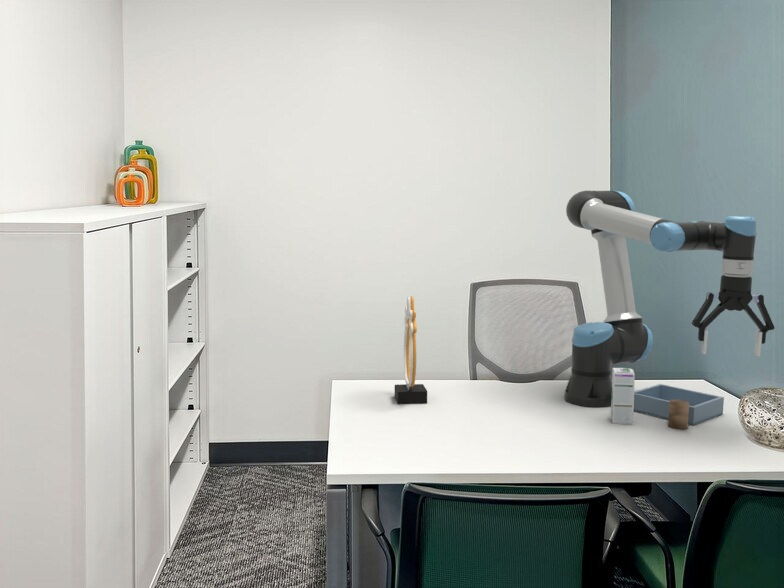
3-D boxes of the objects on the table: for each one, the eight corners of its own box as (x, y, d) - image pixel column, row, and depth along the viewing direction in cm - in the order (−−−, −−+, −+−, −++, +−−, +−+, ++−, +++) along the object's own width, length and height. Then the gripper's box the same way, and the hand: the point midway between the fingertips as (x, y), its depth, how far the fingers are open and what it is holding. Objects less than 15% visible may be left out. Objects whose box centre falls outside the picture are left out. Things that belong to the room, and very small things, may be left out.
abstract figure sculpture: (429, 407, 226) (430, 300, 222) (399, 407, 225) (400, 300, 221) (421, 392, 243) (422, 292, 238) (393, 393, 242) (394, 292, 238)
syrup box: (633, 424, 211) (636, 372, 209) (611, 423, 212) (613, 371, 210) (631, 418, 217) (634, 368, 215) (609, 417, 218) (612, 366, 216)
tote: (628, 409, 226) (629, 392, 225) (659, 399, 237) (660, 383, 236) (693, 425, 211) (694, 407, 210) (722, 414, 222) (723, 397, 221)
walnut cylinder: (664, 426, 210) (666, 401, 209) (674, 423, 213) (675, 398, 212) (681, 431, 206) (683, 405, 205) (691, 427, 209) (692, 402, 208)
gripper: (690, 275, 201) (684, 355, 204) (792, 278, 197) (784, 359, 200) (683, 272, 208) (678, 349, 211) (781, 275, 205) (774, 353, 208)
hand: (730, 354), depth 206 cm, fingers open, 13 cm apart
